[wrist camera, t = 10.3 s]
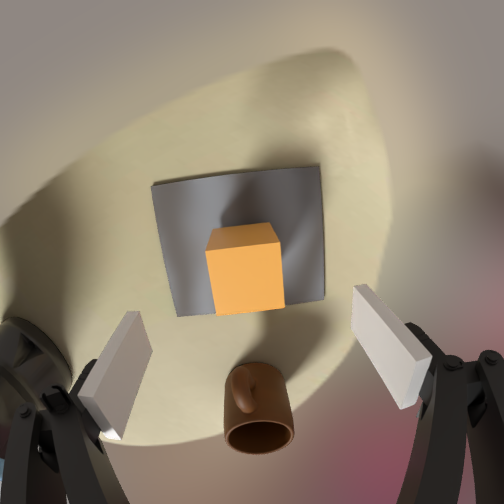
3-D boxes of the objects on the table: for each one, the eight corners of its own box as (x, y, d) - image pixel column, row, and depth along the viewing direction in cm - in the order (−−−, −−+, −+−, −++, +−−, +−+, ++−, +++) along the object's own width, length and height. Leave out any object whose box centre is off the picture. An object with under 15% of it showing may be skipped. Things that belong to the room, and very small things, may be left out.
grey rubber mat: (177, 314, 30) (164, 356, 23) (151, 186, 26) (123, 195, 18) (323, 298, 30) (345, 335, 23) (317, 166, 26) (346, 169, 19)
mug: (204, 339, 31) (196, 399, 22) (269, 324, 31) (280, 382, 22) (234, 404, 35) (235, 459, 26) (288, 393, 35) (300, 447, 26)
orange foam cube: (212, 228, 26) (205, 250, 19) (269, 222, 26) (280, 242, 20) (220, 280, 27) (216, 315, 21) (274, 274, 27) (284, 307, 21)
